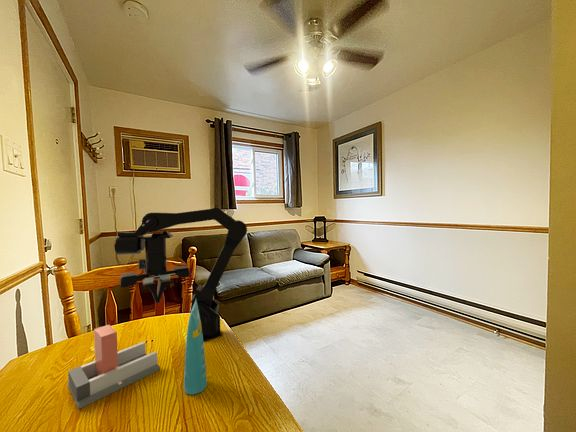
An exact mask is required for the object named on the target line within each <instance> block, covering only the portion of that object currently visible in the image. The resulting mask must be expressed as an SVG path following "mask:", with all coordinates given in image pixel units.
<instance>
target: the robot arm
mask: <svg viewBox="0 0 576 432" xmlns="http://www.w3.org/2000/svg"><path fill="white" fill-rule="evenodd" d="M212 220H214V221H216V222H217V223H218V224H219V225H221V226H222V227H224V228H225V229H226V230H228V231H227V234H226V238H225V240H224V244H223V247H222V249H221V251H220V252H219V255H218V257H217V259H216V260H215V263H214V265H213V267H212V269H211V271H210V273H209V276H208V277H207V279H206V282H205V283H204V284H203V285H201V284H198V286H197V288H196V290H195V293H194V294H193V296H192V298H191V300H190V303H191V305H190V309H191V310H192V308H193V305H194V303H195V300H196V301H197V305H198V310H199V315H200V320H201V326H202V334H203V342H206V341H209V340H212V339H215V338H218V337H221V336H223V333H222V332H221V315H220V314H219V307H220V304H219V303H218V302H217V301H216V300H214V297H215V293H216V289H217V287H218V285H219V283H220V280H221V278H222V277H223V274H224V272H225V270H226V268H227V267H228V264H229V261H230V259H231V258H232V256H233V253H234V251H235V250H236V249H237V247H238V246H239V245H240V243H241V242H242V241H243V239H244V238H245V236H246V234H247V233H248V228H247V224H245V222H243V221H242V220H240V219H237V220H236V219H234V218H233V217H232V216H230V215H229V214H227V213H226V212H225V211H223V210H222V209H221V208H220V207H213V208H208V209H207V208H206V209H198V210H191V211H184V212H177V213H176V212H148V213H146V214H145V215H144V216H143V218H142V219H141V224H140V225H139V226H138V228H137V229H136V231H135V232H133V231H132V232H130V231H129V232H128V231H119V232H118V233H117V237H116V239H115V243H114V252H115V253H116V255H117V256H118V255H119V256H122V255H123V256H124V255H137V254H138V255H139V254H141V253H142V251H144V250H145V251H144V252H145V258H144V259H138V262H137V263H138V265H137V266H138V267H137V268H138V271H142V270H144V273H143V274H142V273H141V274H137V272H136V271H131V272H128V273H127V272H126V273H121V274H120V275H119V283H120V284H119V285H120V288H127V287H135V286H136V284H137V282H142V285H143V287H148V289H149V290H150V292H151V294H152V296H153V299H154V302H155V304H159V303H160V301H161V299H162V296H163V293H164V290H165V289H166V287H167V285H168V284H169V283H172V280H171V277H174V276H177V277H178V278H180V279H182V278H183V279H184V278H190V277H191V270H190V268H189V267H188V266H186V265H178V266H174V267H173V269H171V270H168V269H167V267H168V266H167V239H171V238H173V237H174V235H173V234H172V233H170V232H169V231H168V228H172V227H175V226H177V225H185V224H192V223H197V222H198V223H200V222H207V221H212ZM165 229H166V230H165ZM162 230H164V231H163V232H157V231H162ZM149 234H151V235H149ZM146 235H149V236H146ZM155 279H157V284H156V282H155Z"/></svg>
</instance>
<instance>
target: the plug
mask: <svg viewBox="0 0 576 432" xmlns="http://www.w3.org/2000/svg"><path fill="white" fill-rule="evenodd" d="M93 333H94V335H93V336H94V361H95V366H96V375H97V376H99V375H101V374H103V373H106V372H108V371H110V370H113V369H115V367H117V366H118V331H116V329H114V327H112V326H111V325H110V324H106V325H103V326H99V327H96V328H94V329H93Z"/></svg>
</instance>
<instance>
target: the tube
mask: <svg viewBox="0 0 576 432" xmlns="http://www.w3.org/2000/svg"><path fill="white" fill-rule="evenodd" d="M187 324H188V325H187V331H186V338H185V339H186V341H185V355H184V356H185V357H184V378H183V383H184V385H183V390H184V392H185V394H187V395H191V396H192V395H196V394H199V393H201V392H203V391H204V390H205V389H206V387H207V386H208V384H207V383H208V381H207V379H208V378H207V368H206V367H207V366H206V354H205V353H206V352H205V343H204V342H205V341H203V334H202V326H201V320H200V315H199V310H198V305H197V301H196V300H195V303H194V305H193V308H192V309H191V311H190V313H189V318H188V323H187Z"/></svg>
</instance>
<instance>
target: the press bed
mask: <svg viewBox="0 0 576 432" xmlns="http://www.w3.org/2000/svg"><path fill="white" fill-rule="evenodd" d="M146 351H147V350H146V342H145V341H142V342H139V343H137V344H134V345H132V346H129V347H127V348H124V349H121V350H119V351H118V350H117V352H118V366H117V367H115V369H113V370H110V371H108V372H106V373H103V374H101V375H99V376H97V375H96V366H95V360H93V361H91V362H88V363H85V364H83V365H80V366H77V367H74V368H72V369H70V370H68V371H67V372H68V381H67V386H68V389H69V391H70V393H71V396H72V398H73V400H74V402H75V405H76V408H77V409H78V410H80V409H82V408H84V407H86V406H89V405H90V404H92V403H94V402H97V401H99V400H100V399H103V398H105V397H106V396H109V395H111V394H114V393H115V392H117V391H118V390H121V389H123V388H125V387H127V386H130V385H132V384H133V383H135V382H138V381H139V380H141V379H143V378H145V377H148V376H150V375H151V374H154V373H156V372H158V371H160V365H159V364H158V352H157V351H156V350H155V351H153V352H150V353H148V354H147V353H146Z"/></svg>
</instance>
